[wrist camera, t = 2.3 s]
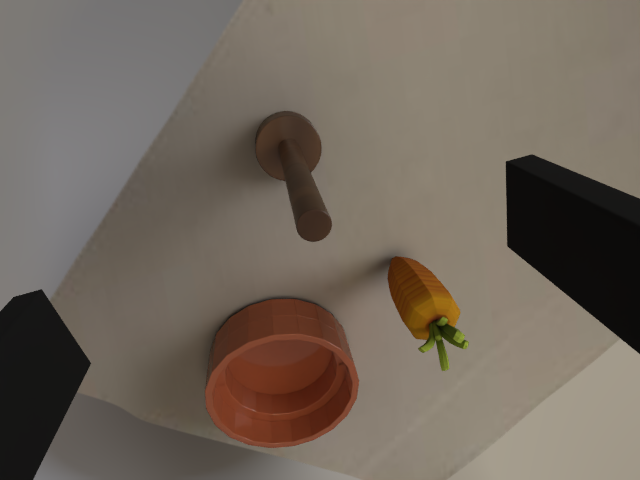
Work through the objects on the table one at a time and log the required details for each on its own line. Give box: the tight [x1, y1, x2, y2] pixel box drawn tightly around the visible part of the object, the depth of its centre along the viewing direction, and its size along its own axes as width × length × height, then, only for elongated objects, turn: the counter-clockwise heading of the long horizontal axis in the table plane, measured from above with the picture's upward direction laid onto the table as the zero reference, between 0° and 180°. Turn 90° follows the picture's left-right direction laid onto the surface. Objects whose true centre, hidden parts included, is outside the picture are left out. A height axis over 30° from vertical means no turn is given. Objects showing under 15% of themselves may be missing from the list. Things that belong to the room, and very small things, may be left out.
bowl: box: [205, 299, 359, 448], centre depth 44 cm, size 15×15×6 cm
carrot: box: [388, 256, 469, 371], centre depth 37 cm, size 5×5×15 cm
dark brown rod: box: [255, 111, 332, 242], centre depth 29 cm, size 6×6×18 cm
